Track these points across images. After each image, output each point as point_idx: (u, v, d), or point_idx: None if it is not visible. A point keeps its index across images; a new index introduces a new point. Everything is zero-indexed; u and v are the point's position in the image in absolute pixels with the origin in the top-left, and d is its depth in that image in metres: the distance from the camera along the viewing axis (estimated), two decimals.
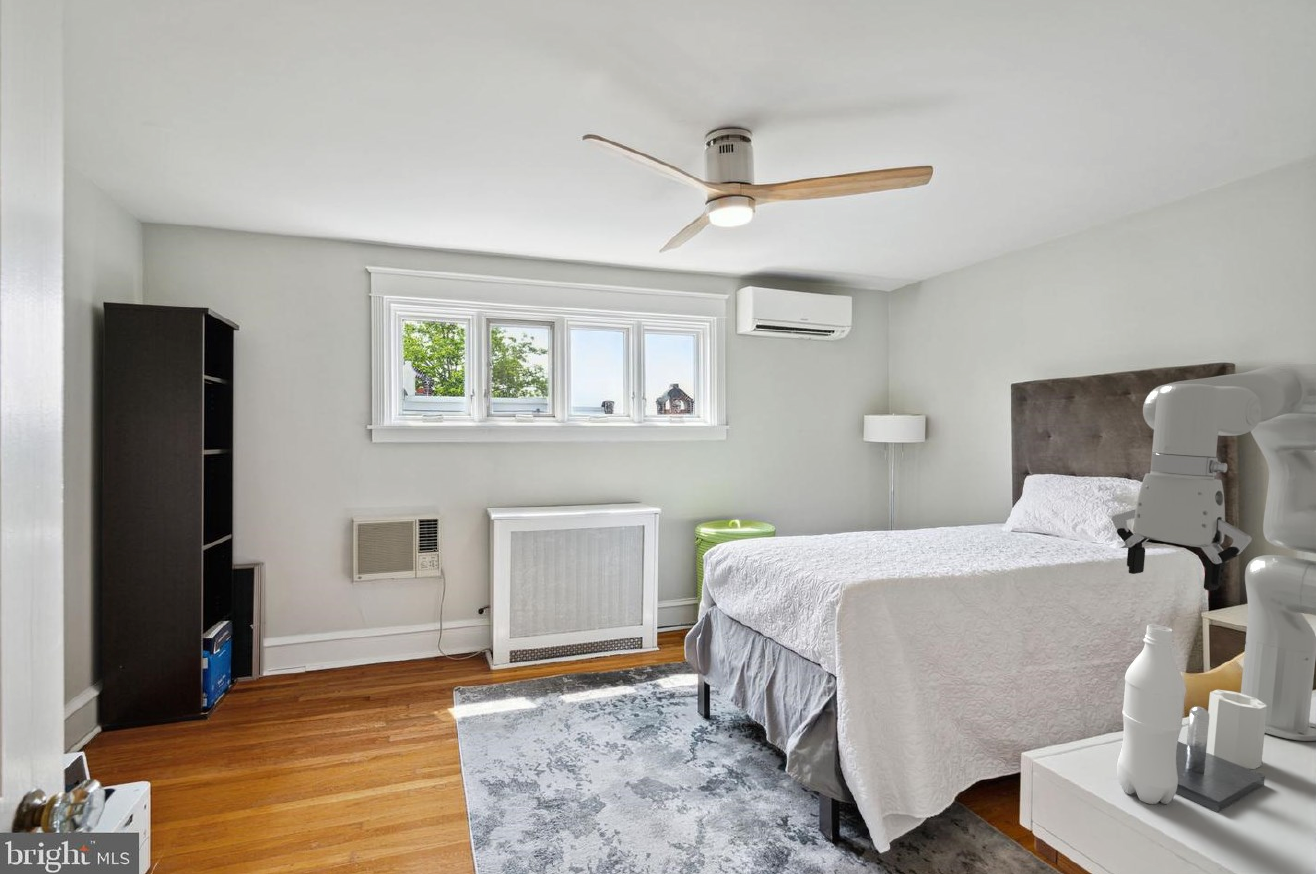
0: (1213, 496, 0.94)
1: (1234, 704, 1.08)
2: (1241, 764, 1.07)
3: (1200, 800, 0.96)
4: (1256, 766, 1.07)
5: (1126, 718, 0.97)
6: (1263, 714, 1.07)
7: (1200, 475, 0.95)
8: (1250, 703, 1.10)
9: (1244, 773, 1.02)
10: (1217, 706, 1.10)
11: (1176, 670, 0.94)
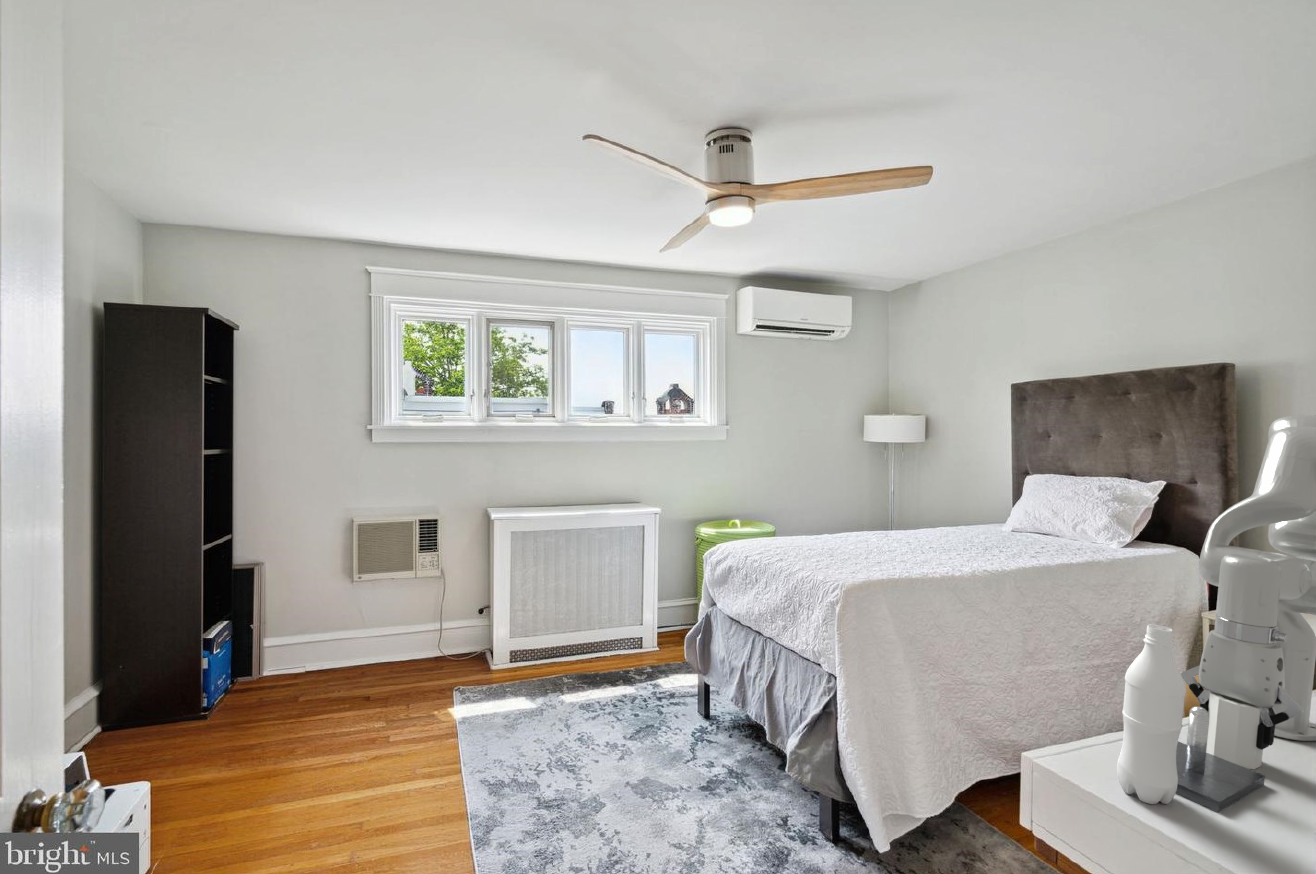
0: (1275, 664, 1.05)
1: (1234, 704, 1.08)
2: (1241, 764, 1.07)
3: (1200, 800, 0.96)
4: (1256, 766, 1.07)
5: (1126, 718, 0.97)
6: None
7: (1263, 643, 1.06)
8: None
9: (1244, 773, 1.02)
10: (1217, 706, 1.10)
11: (1176, 670, 0.94)
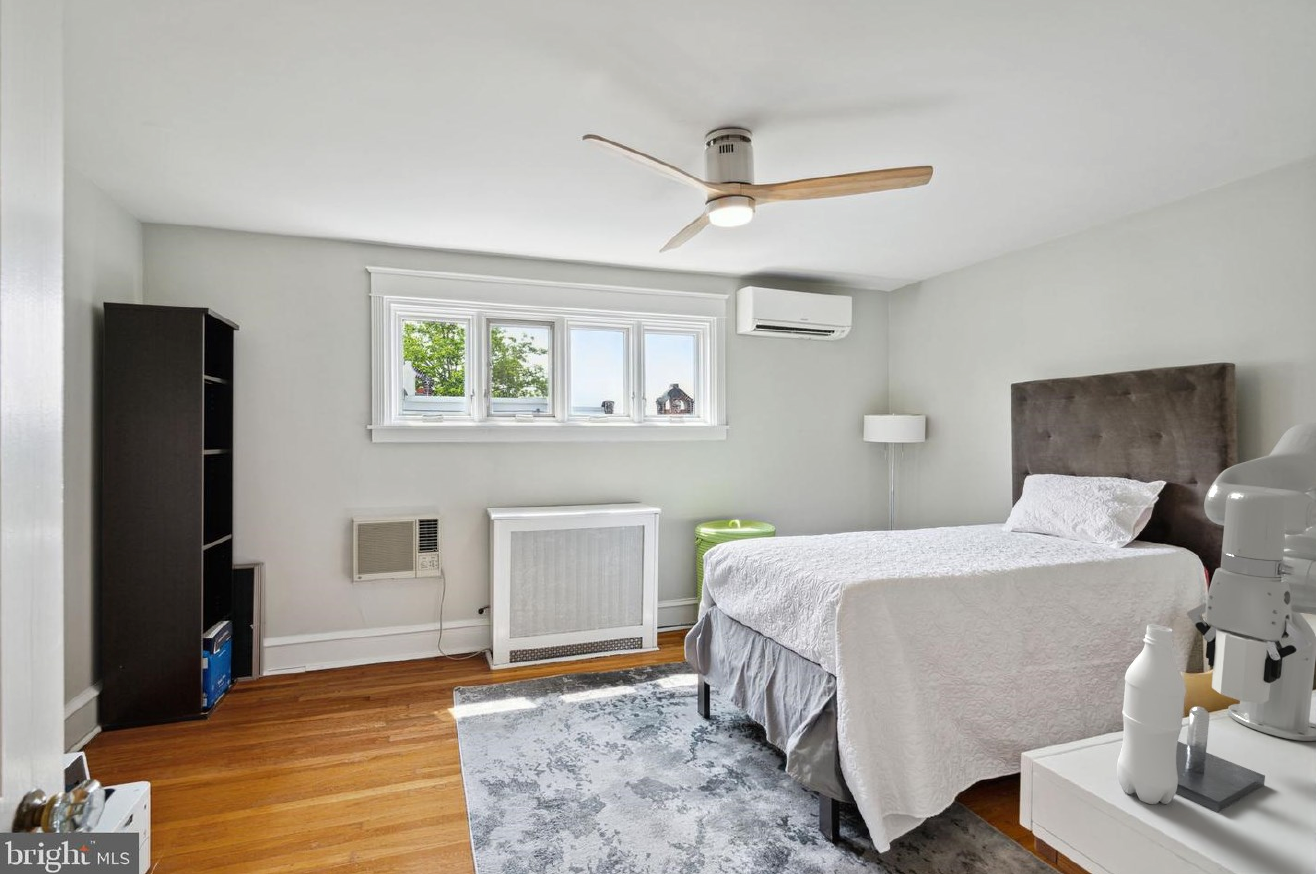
0: (1282, 597, 1.04)
1: (1241, 639, 1.07)
2: (1248, 699, 1.07)
3: (1200, 800, 0.96)
4: (1263, 700, 1.07)
5: (1126, 718, 0.97)
6: None
7: (1269, 577, 1.05)
8: (1257, 639, 1.10)
9: (1244, 773, 1.02)
10: (1224, 642, 1.09)
11: (1176, 670, 0.94)
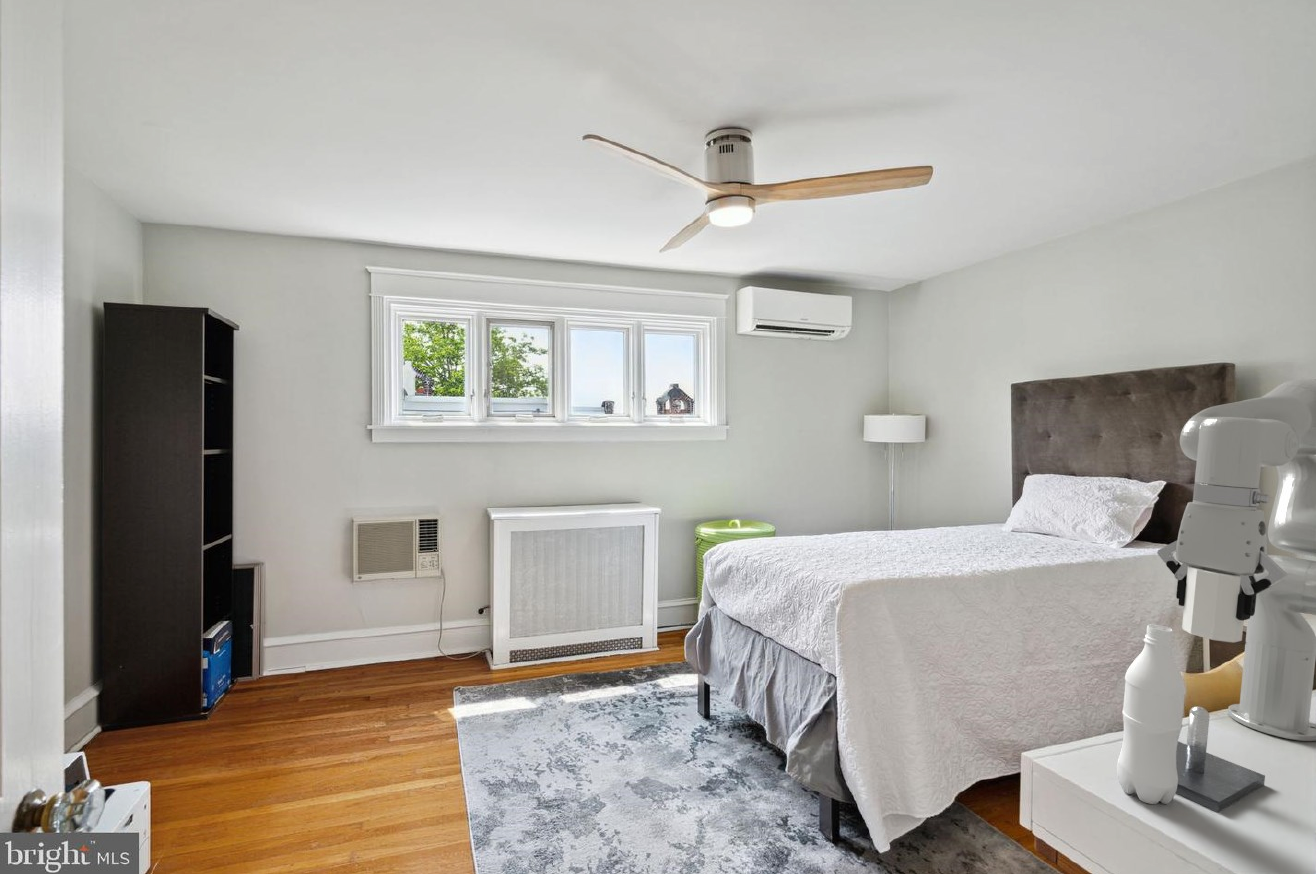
0: (1256, 526, 0.98)
1: (1212, 573, 1.00)
2: (1220, 637, 1.00)
3: (1200, 800, 0.96)
4: (1236, 639, 1.00)
5: (1126, 718, 0.97)
6: None
7: (1243, 506, 0.98)
8: None
9: (1244, 773, 1.02)
10: (1195, 578, 1.02)
11: (1176, 670, 0.94)
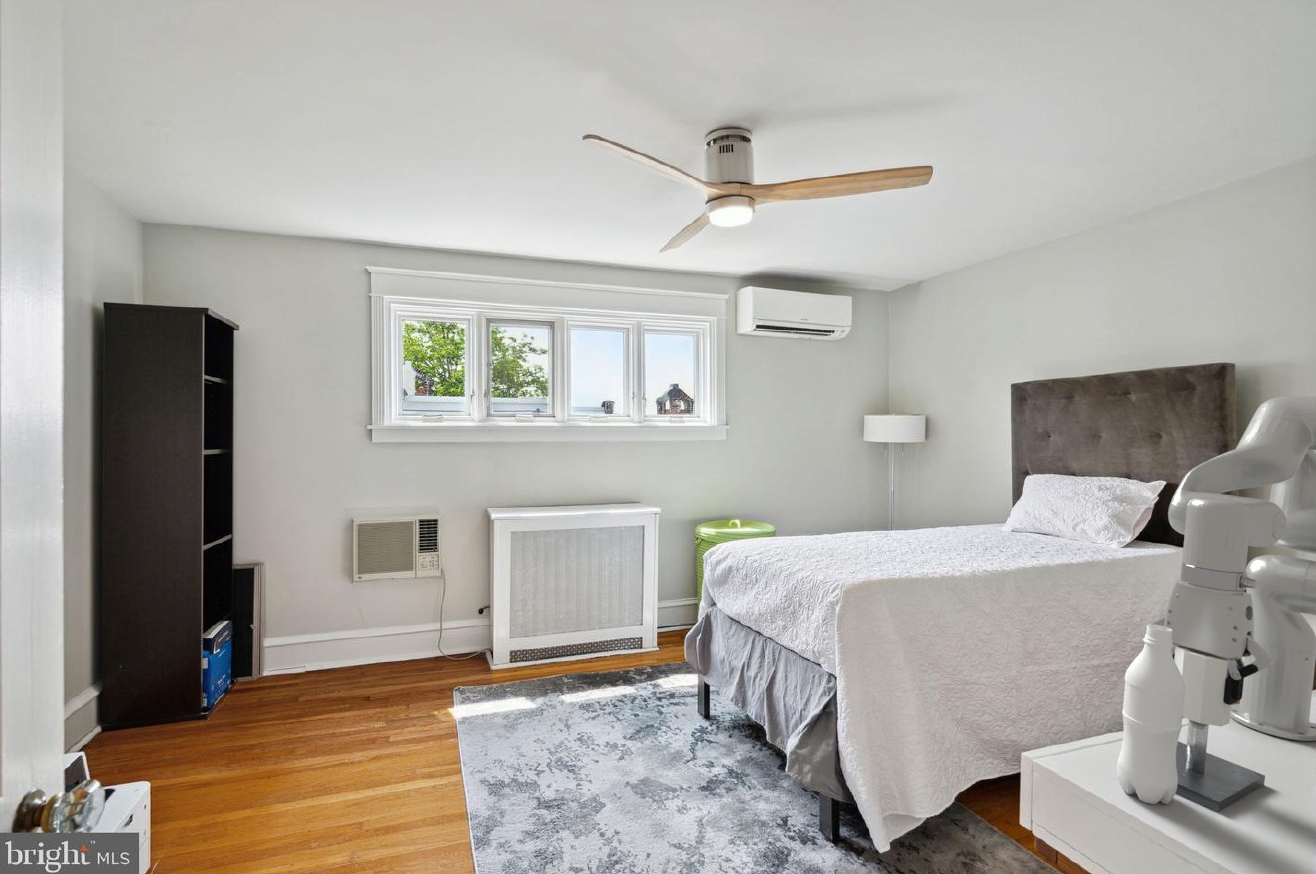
0: (1243, 611, 0.97)
1: (1200, 656, 1.00)
2: (1207, 721, 1.00)
3: (1200, 800, 0.96)
4: (1223, 723, 1.00)
5: (1126, 718, 0.97)
6: None
7: (1230, 590, 0.98)
8: (1218, 657, 1.02)
9: (1244, 773, 1.02)
10: (1182, 659, 1.02)
11: (1176, 670, 0.95)
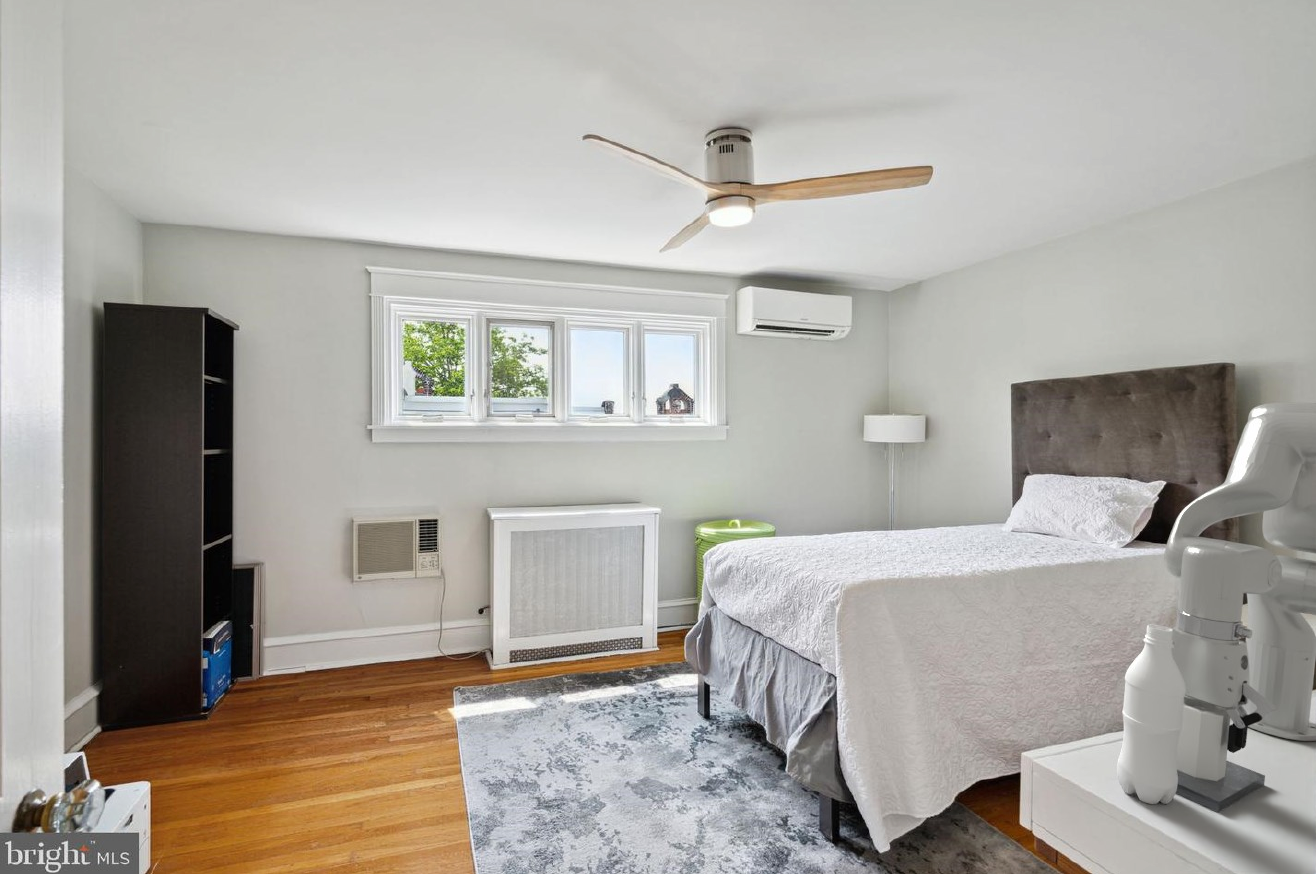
0: (1239, 661, 0.98)
1: (1195, 711, 1.01)
2: (1203, 775, 1.00)
3: (1200, 800, 0.96)
4: (1219, 777, 1.00)
5: (1126, 718, 0.97)
6: (1226, 722, 1.00)
7: (1226, 640, 0.98)
8: (1213, 710, 1.03)
9: (1244, 773, 1.02)
10: None
11: (1176, 670, 0.94)
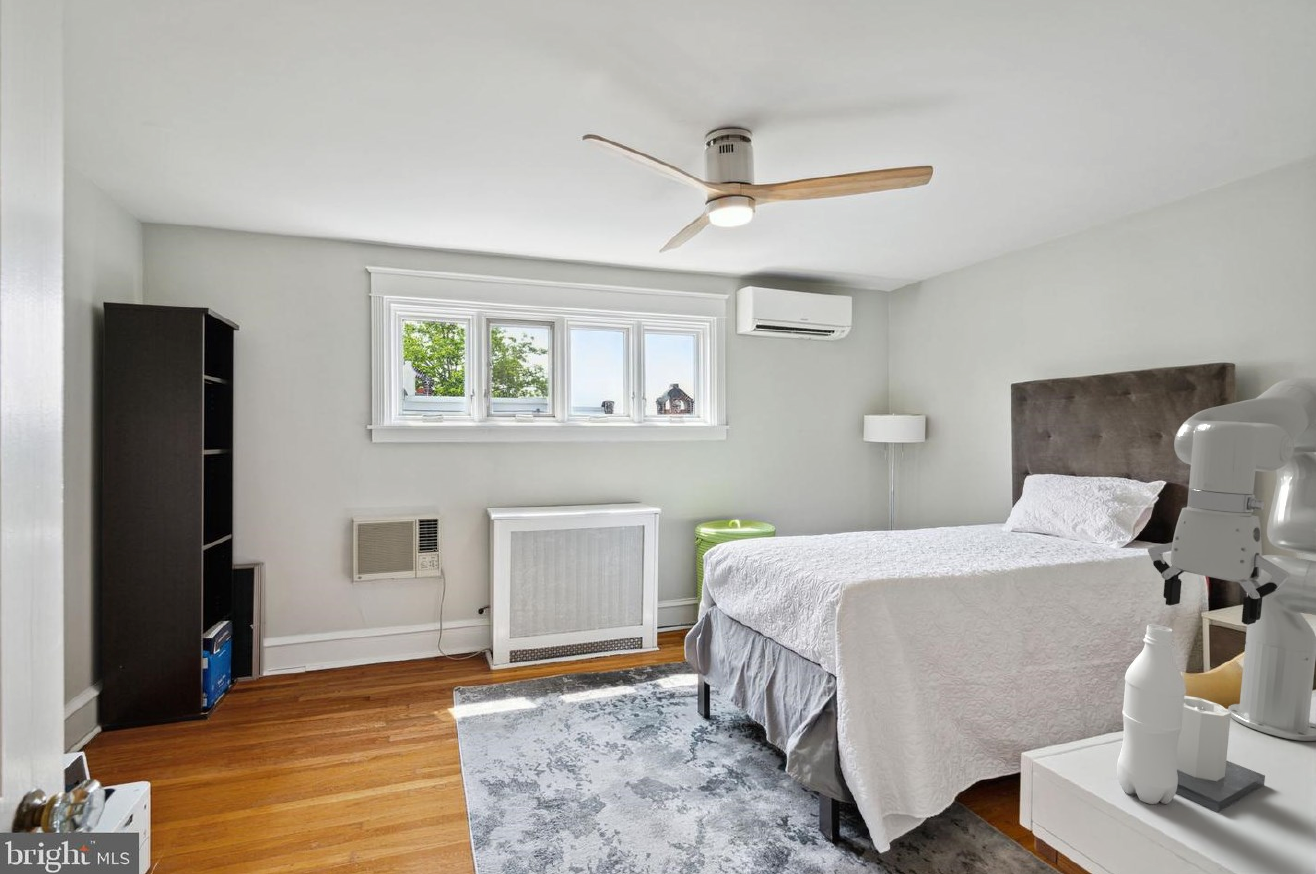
0: (1251, 533, 0.97)
1: (1195, 711, 1.01)
2: (1203, 775, 1.00)
3: (1200, 800, 0.96)
4: (1219, 777, 1.00)
5: (1126, 718, 0.97)
6: (1226, 722, 1.00)
7: (1238, 512, 0.98)
8: (1213, 710, 1.03)
9: (1244, 773, 1.02)
10: None
11: (1176, 670, 0.94)
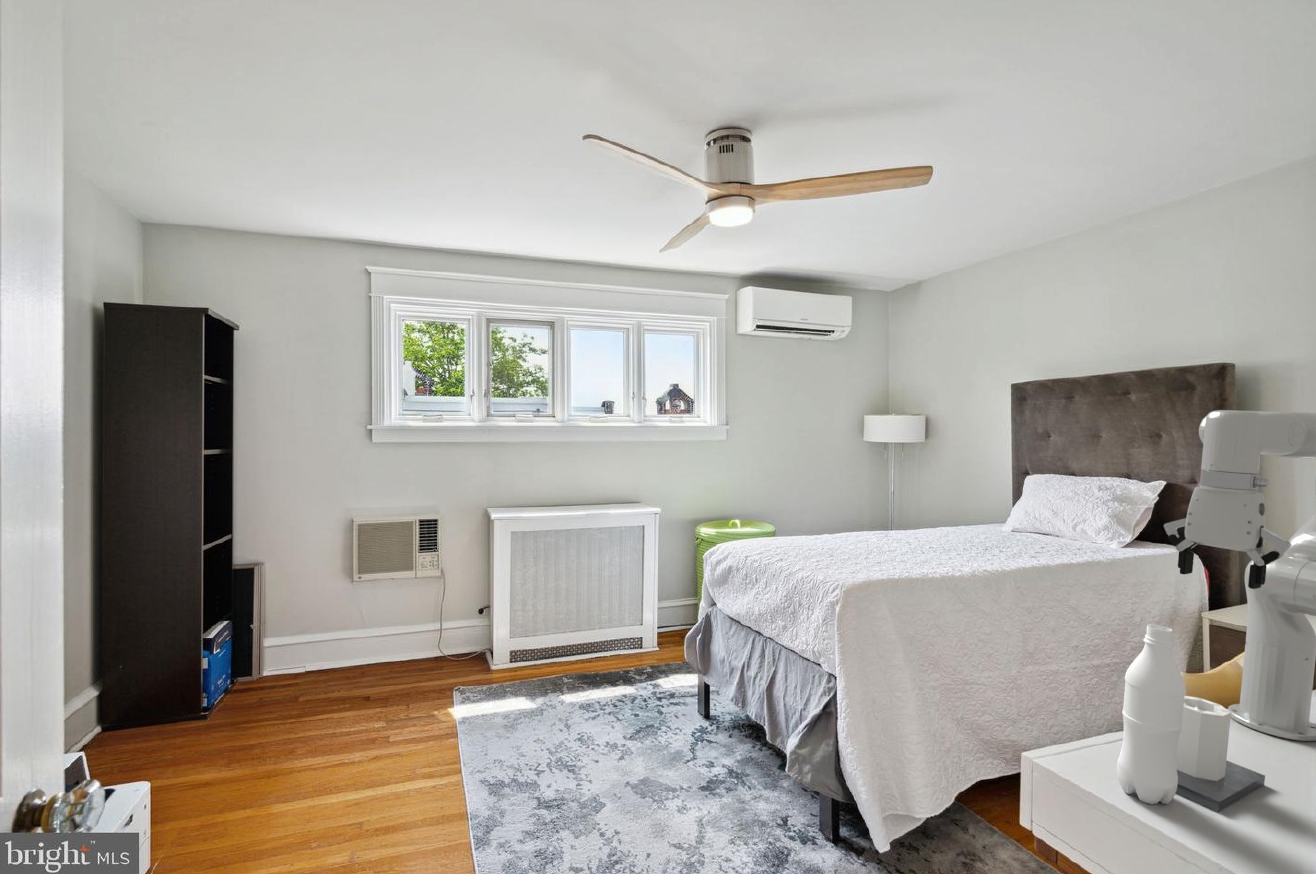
0: (1257, 507, 1.09)
1: (1195, 711, 1.01)
2: (1203, 775, 1.00)
3: (1200, 800, 0.96)
4: (1219, 777, 1.00)
5: (1126, 718, 0.97)
6: (1226, 722, 1.00)
7: (1245, 489, 1.10)
8: (1213, 710, 1.03)
9: (1244, 773, 1.02)
10: None
11: (1176, 670, 0.94)
